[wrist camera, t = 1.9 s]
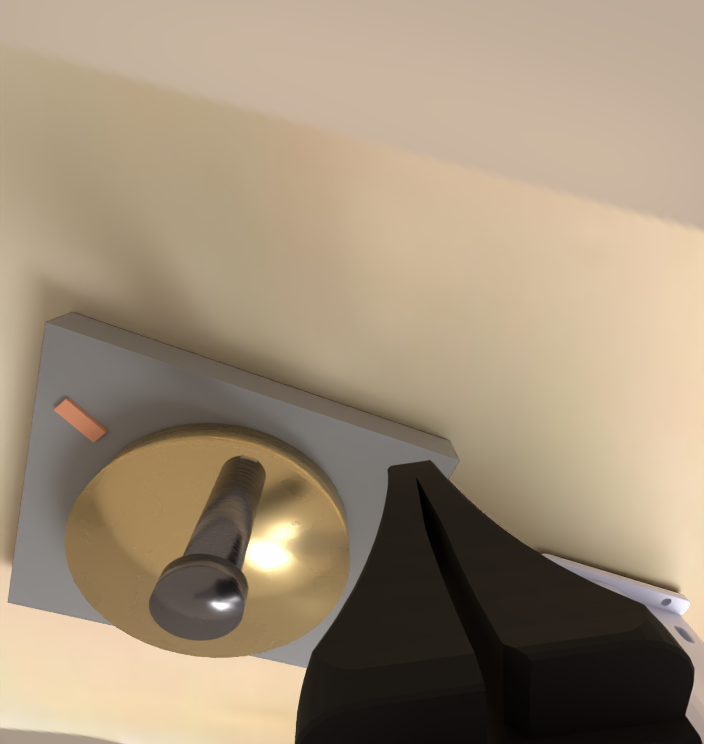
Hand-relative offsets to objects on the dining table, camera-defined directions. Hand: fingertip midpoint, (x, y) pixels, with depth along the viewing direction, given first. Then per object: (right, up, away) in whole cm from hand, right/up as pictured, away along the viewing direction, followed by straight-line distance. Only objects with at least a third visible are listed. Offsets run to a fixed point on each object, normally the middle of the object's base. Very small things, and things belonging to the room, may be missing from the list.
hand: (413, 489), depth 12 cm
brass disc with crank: (-8, -3, +5) cm, 10 cm away
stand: (-8, -3, +7) cm, 10 cm away
